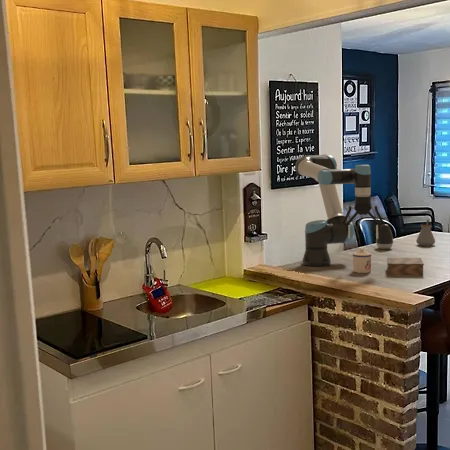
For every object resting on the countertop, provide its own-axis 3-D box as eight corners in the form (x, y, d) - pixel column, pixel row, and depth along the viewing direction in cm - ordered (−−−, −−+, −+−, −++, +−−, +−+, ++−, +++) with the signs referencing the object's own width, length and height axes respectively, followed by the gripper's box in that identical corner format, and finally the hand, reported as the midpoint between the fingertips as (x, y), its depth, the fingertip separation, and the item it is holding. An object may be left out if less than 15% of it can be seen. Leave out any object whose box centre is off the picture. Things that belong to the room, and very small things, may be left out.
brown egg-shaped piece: (395, 247, 363) (395, 223, 362) (390, 250, 355) (390, 225, 353) (379, 246, 369) (379, 222, 367) (373, 249, 360) (373, 224, 358)
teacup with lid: (368, 274, 287) (368, 250, 286) (350, 272, 292) (350, 249, 291) (375, 269, 298) (375, 246, 296) (357, 268, 302) (357, 246, 301)
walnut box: (387, 276, 283) (387, 263, 282) (386, 269, 299) (386, 257, 298) (423, 276, 279) (423, 263, 278) (420, 270, 295) (420, 257, 294)
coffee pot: (434, 247, 362) (434, 223, 360) (415, 246, 367) (415, 222, 365) (437, 242, 381) (437, 219, 380) (418, 241, 386) (419, 218, 384)
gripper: (337, 197, 289) (337, 239, 292) (389, 196, 284) (389, 239, 287) (337, 196, 297) (337, 237, 299) (388, 195, 292) (388, 237, 294)
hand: (363, 238), depth 293 cm, fingers open, 13 cm apart
